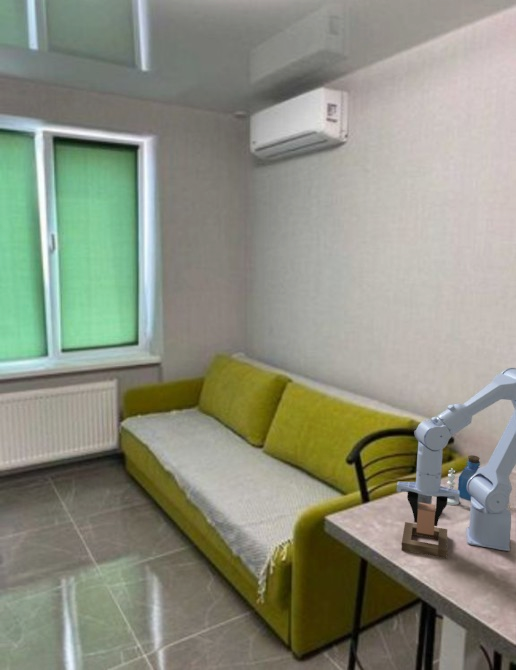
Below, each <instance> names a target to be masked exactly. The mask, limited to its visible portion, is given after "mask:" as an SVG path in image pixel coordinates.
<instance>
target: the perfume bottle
mask: <svg viewBox="0 0 516 670" xmlns="http://www.w3.org/2000/svg"><path fill="white" fill-rule="evenodd" d="M467 457H468V459H467V460H466V462H467V463H466V464H467V465H466V466H465V467H464V469H463V470H462V472H461V474H460V475H459V477H458V484H457V486H458V487H457V490H459V492H460V495H459V498H462V499H466V500H468V501H471V495H470V494H469V493H468V491H467V482H468V480H469V479H470V478H471V477H472V476H473V475H474V474H475V473H476V472H477V470H478V468H480V467H481V466H480V465H481V464H480V463H481V462H480V456H477V455H468V456H467Z"/></svg>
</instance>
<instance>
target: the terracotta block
mask: <svg viewBox="0 0 516 670" xmlns="http://www.w3.org/2000/svg"><path fill="white" fill-rule="evenodd" d="M435 511H436V504H434V503H431V504H426V503H420V502H419V503H418V515H417V523H416V524H417V531H416V532H418V533H423V534H429V535H434V527H435V526H434V521H435Z"/></svg>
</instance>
